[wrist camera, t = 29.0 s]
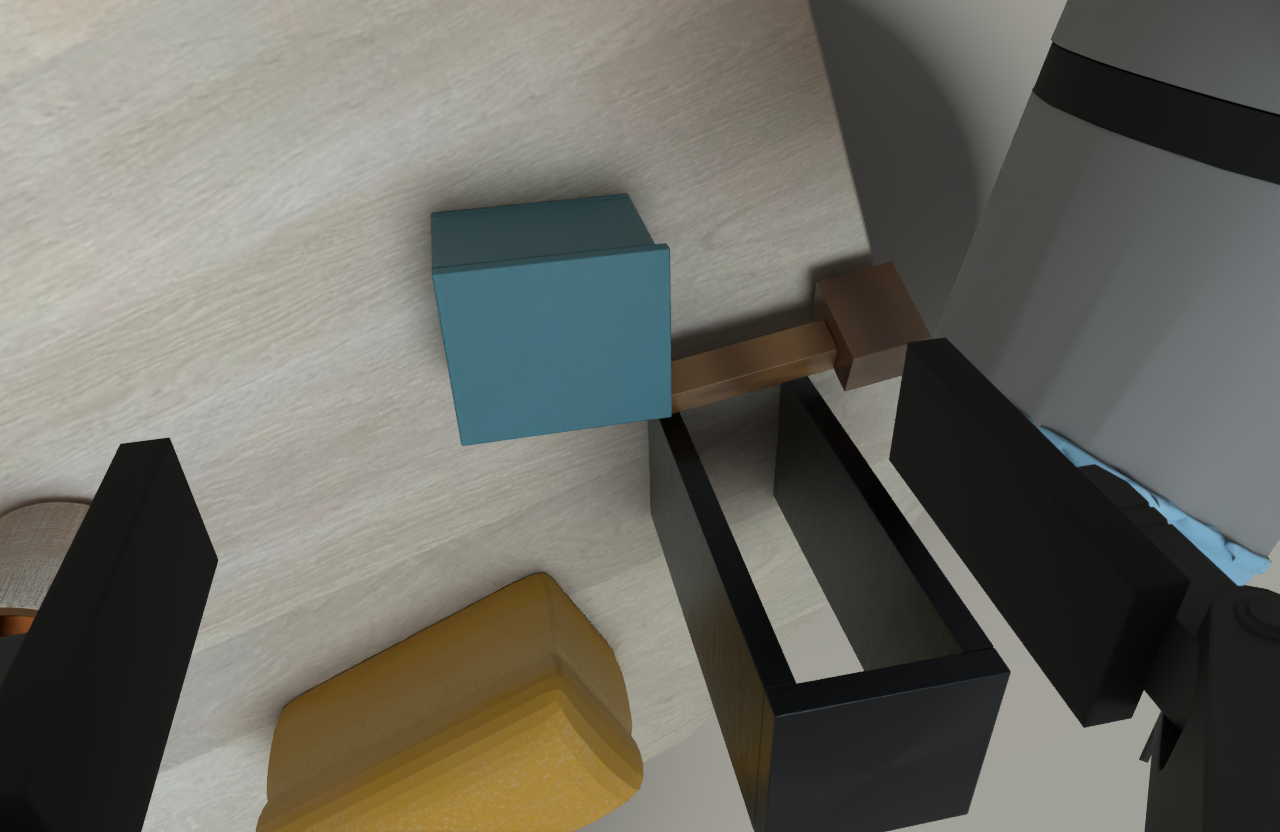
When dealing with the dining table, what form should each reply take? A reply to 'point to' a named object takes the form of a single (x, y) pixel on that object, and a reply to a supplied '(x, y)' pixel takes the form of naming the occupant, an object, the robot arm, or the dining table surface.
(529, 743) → the bread
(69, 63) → the dining table surface
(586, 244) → the caddy
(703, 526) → the black arch block
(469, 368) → the lid
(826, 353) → the mallet
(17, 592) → the planter
